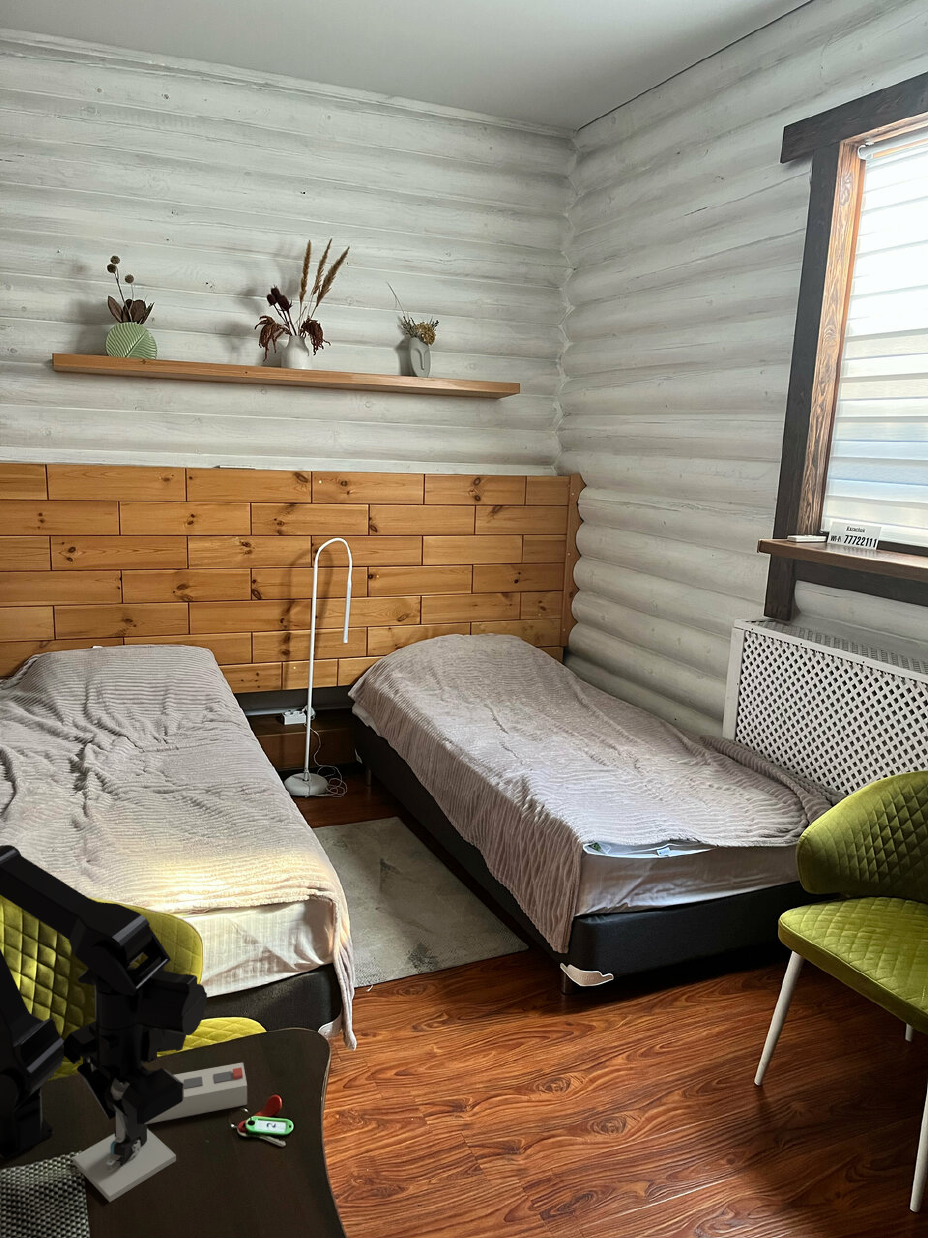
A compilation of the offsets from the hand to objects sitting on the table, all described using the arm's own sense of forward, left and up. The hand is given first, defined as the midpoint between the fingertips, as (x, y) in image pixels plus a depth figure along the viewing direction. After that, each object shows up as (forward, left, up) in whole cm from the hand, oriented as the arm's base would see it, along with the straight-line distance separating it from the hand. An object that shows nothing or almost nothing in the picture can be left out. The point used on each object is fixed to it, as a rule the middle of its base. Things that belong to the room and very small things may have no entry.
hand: (123, 1127), depth 115 cm
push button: (0, 0, -4) cm, 4 cm away
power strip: (-3, +12, -5) cm, 13 cm away
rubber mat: (0, 0, -5) cm, 5 cm away
